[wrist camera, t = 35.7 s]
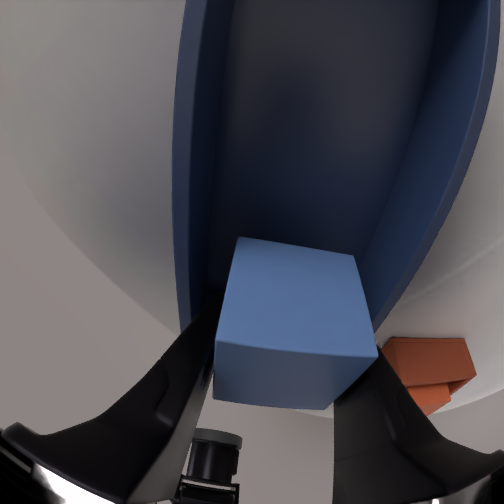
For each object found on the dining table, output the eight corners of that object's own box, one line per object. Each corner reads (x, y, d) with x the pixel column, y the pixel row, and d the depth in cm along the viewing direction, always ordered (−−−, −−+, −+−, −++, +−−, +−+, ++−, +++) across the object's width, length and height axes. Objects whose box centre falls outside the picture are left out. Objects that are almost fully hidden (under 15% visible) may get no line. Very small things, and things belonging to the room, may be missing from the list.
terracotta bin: (346, 386, 20) (349, 422, 17) (391, 336, 15) (402, 383, 12) (414, 384, 20) (420, 415, 17) (464, 338, 15) (477, 374, 13)
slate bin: (198, 288, 14) (181, 344, 11) (236, -67, 4) (215, -112, 1) (340, 310, 14) (348, 365, 11) (445, -8, 4) (500, -18, 1)
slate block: (228, 312, 11) (212, 399, 8) (238, 235, 9) (215, 339, 6) (319, 325, 11) (324, 410, 8) (354, 255, 9) (380, 356, 6)
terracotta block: (375, 381, 18) (380, 426, 15) (401, 356, 16) (411, 406, 13) (412, 380, 18) (420, 420, 15) (439, 355, 16) (451, 400, 13)
